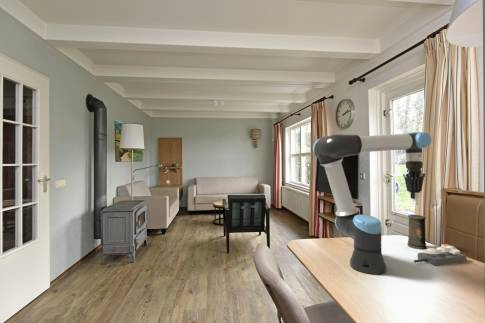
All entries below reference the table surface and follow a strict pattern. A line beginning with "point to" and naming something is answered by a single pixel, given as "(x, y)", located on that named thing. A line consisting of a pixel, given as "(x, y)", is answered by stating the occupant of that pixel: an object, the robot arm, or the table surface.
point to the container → (416, 232)
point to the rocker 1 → (432, 251)
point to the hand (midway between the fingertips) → (414, 204)
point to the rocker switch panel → (440, 258)
